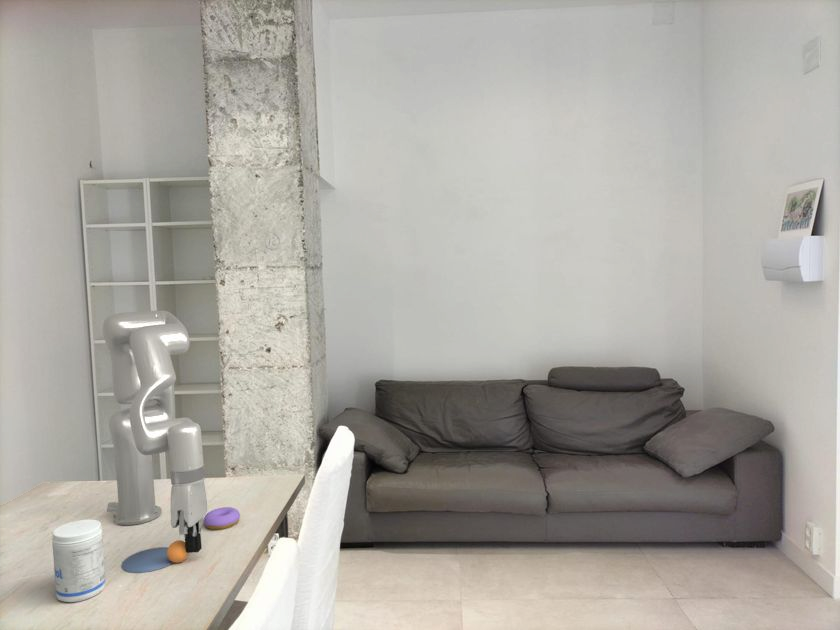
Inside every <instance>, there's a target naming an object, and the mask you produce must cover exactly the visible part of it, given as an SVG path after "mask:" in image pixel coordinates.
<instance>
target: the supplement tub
mask: <svg viewBox="0 0 840 630" xmlns="http://www.w3.org/2000/svg"><path fill="white" fill-rule="evenodd" d="M103 537H104V536H103V527H102V523H101V522H100V521H99V520H96V519H80V520H74V521H71V522H67V523H64V524H61V525H60V526H58V527H56V528H55V529H54V530H53V531H52V539H51V540H52V554H53V555H52V556H53V571H54V583H55V586H54V587H55V596H56V599H58V600H59V601H61V602H65V603H78V602H81V601H85V600H88V599H91V598H93V597H96V596H97V595H98V594H100V593H101V592H102V591H103V590H104V589H105V587H106V572H105V571H106V570H105V554H104V538H103Z"/></svg>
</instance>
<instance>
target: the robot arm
mask: <svg viewBox="0 0 840 630" xmlns="http://www.w3.org/2000/svg"><path fill="white" fill-rule="evenodd" d="M102 334H103V339H104V341H105V344H106V346H107V348H108V351H109V354H110V358H111V373H112V374H111V377H112V378H111V379H112V390H113V398H114V400H115V401H116V403H118V404H120V405H130V407H127V408H123V409H119V410H117V411H116V412H114V413H112V414H111V416H110V417H109V420H108V428H109V433H110V437H111V440H112V444H113V453H114V459H115V461H114V462H115V463H114V464H115V473H116V474H115V475H116V487H117V488H116V489H117V500H118V501H117V502H114V501H113V502H110V501H109V502H108V503H107V506H106V507H107V508H106V512H111V513H112V512H114V513H115V514H114V516H113V518H112V519H113V523H114V524H116V525H118V526H133V525H139V524H144V523H149V522H150V521H153V520H155V519H157V518H159V517H160V516H161V514H162V513H163V512H162V508H161V507H160V506H158V505H156V495H155V483H154V482H155V481H154V480H155V479H154V467H153V466H154V465H153V455H157V454H158V455H159V454H162V453H166V452H167V453H168V459H169V460H168V461H169V471H170V482H171V483H170V484H171V485H172V486H171V490H170V524H171V527H172V528H173V529H175V528H177V527H178V528H179V529H178V534H179V535H180V536H181V535H183V538H184V542H185V546H186V552H187V553H189V554H190V553H192V554H193V553H199V552H200V551H201V550H202V549H203V548H202V546H203V545H202V536H201V535H202V534H201V532H202V522H203V520H204V518H205V516H206V514H207V513H208V502H207V501H208V500H207V493H206V492H207V491H206V486H205V480H206V478H205V477H206V476H205V463H204V451H203V438H202V429H201V426H200V424H199V423H197V422H195V421H193V420H192V419H191V418H189V417H179V418H178V417H177V418H176V397H175V382H176V380H177V376H176V371H175V369H174V365H173V362H172V358H171V356H175V355H183V354H185V353H187V351H189V348H190V344H191V343H190V342H191V340H190V336H189V332H188V330H187V328H186V326H185V325H184V324H183V323H182V321H180V320H179V318H177V317H176V316H175V315H174V314H173V313H171V312H170V311H167V310H163V309H162V310H148V311H147V310H146V311H129V312H127V311H126V312H119V313H114V314H111V315H108V316H107V317H106V318H105V319H104V321H103V322H102ZM152 401H154V402H155V403H152V404H147V402H152ZM146 404H147V405H146Z"/></svg>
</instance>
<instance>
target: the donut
mask: <svg viewBox="0 0 840 630" xmlns="http://www.w3.org/2000/svg"><path fill="white" fill-rule="evenodd" d="M240 518H241V513H240V511H239V510H238V509H237V508H234V507H231V506H230V507H229V506H226V507H224V506H223V507H219V508H215V509H212V510H211V511H209V512H207V513H206V515H205V516H204V518H203V519H202V522H203V523H204V524H203V525H204V526H205V527H206V528H207V529H209V530H211V531H220V530H227V529H229V527H230V528H233V526H235V525H236V524H237V523H238V522H239V520H240ZM226 528H227V529H226Z"/></svg>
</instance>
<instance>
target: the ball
mask: <svg viewBox="0 0 840 630" xmlns="http://www.w3.org/2000/svg"><path fill="white" fill-rule="evenodd" d="M189 554H190V553H187V552H186V546H185V540H175V541H172V542H171V543H170V544H169V546H168V550H167V556H168V558H169V560H171V561H172V562H174V564H175V563H177V564H179V563H181V562H183V561H185V560H186V559H187V558H188V557H189Z"/></svg>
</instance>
